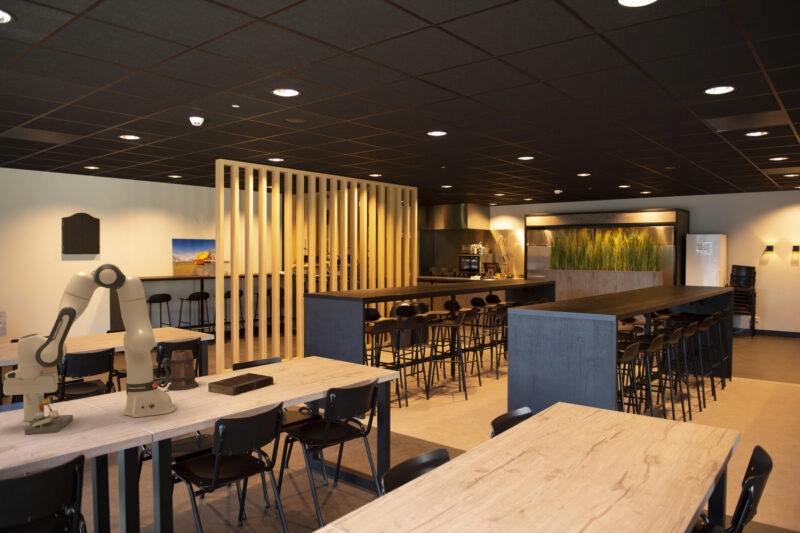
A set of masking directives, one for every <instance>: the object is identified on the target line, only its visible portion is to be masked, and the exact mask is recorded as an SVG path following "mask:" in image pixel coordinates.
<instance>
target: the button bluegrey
mask: <svg viewBox="0 0 800 533" xmlns="http://www.w3.org/2000/svg"><path fill="white" fill-rule="evenodd" d="M44 417H45V411H44V412H36V413H35V419H36V420H38V419H43V418H44Z"/></svg>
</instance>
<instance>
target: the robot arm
mask: <svg viewBox="0 0 800 533" xmlns="http://www.w3.org/2000/svg"><path fill="white" fill-rule="evenodd" d="M101 287H102V288H105V289H113V290H116V292H117V296H118V301H119V302H118V303H119V308H120V314H121V319H122V323H123V326H124V329H125V333H124V335H123V338H122V339H123V348H124V349H123V350H124V358H125V363H126V383H125V393H126V404H125V409H124V413H123V415H125V416H129V417H132V418H140V417H141V418H143V417H149V416H157V415H158V416H159V415H167V414H171V413H174V412H175V411H176V410H177V409H178V408H177V404H175V403H173V402H172V399H171V395H170V394H169V393H167V392H165V391H164V390H162V389H160V387H159V386H158V381H159V380H155V379H154V367H153V366H154V365H153V364H154V363H153V359H152V355H151V354H152V353H151V351H152V350H153V349H154V347H155V345H156V338H155V335H154V330H153V327H152V323H151V320H150V315H149V312H148V311H149V310H148V304H147V299H146V294H145V289H144V286H143V283H142V280H141V279H140V277H138V276H136V275H134V274H133V275H132V274H130V275H129V274H128V275H125V273H123V272H122V269H120V267H119V266H117V265H116V264H113V263H109V262H106V263H102V264H100V265H98V267H97V268H95V269H94V270H93V271H91V272H89V271H85V270H82V271H81V270H80V271H76V272H75V273H74V274H73V275H72V276H71V277H70V279H69V281H68V283H67V285H66V286H65V289H64V291H63V293H62V296H61V299H60V301H59V306H58V311H57V316H56V319H55V322H54V324H53V326H52V329H51V331H50V334H48V336H47V337H45V336H43V335H40V334H39V333H30V334H26V335H24V336H22V337H20V338H19V339H18V340H17V347H16V349H17V350H16V354H17V358H18V363H17V369H14V370H12V371H9V372H7V373H5V374H4V378H5V380H4V381H3V388H2V392H3V395H5V396H15V395H16V396H17V395H24V398H25V399H26V400H27V404H35V403H36V399H37V397H38V395H39V393H43V394H50V393H55V392H57V390H58V389H59V386H58V380H57V379H58V374H57V372H56V371H54V370H48V371H47V370H43V368H49V369H50V368H53V367H56V366H58V365H59V364H61V362H62V361H63V359H64V357H65V356H66V354H67V353H68V351H67V350H68V347H67V345H66V344H65V342H66V340H67V338H68V335H69V333H70V330H71V328H72V327H73V325H74V323H75V322H76V321H77V320H78V319H79V318H80V317H81V316H82V315H83V313H84V312H85V311H86V309H87V308H88V306H89V304H90V302H91V299H92V297H93V295H94V293H95V292H96V290H97V289H98V288H101ZM29 394H33V396H34V398H33V399H30V398H29V397H28V396H29Z"/></svg>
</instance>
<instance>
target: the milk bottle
mask: <svg viewBox="0 0 800 533" xmlns="http://www.w3.org/2000/svg"><path fill="white" fill-rule="evenodd" d="M22 395H23V400H22V401H23V420H24V422H30V421H31V420H33V419H34V418H35V413H36V412H44V413H45V404H43V400H44V399H45V396H44V393H39V395H38V397H37V399H36V403H35V404H27V400H26V399H25V398H24V394H22ZM28 397H29V398H30V399H33V398H34V396H33V394H29V396H28Z"/></svg>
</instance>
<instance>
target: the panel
mask: <svg viewBox="0 0 800 533" xmlns="http://www.w3.org/2000/svg"><path fill="white" fill-rule="evenodd" d="M59 413H60V412H58V417H57V418H52V420H51V421H50V422H47V423H44V424H41V425H38V426H35V427H33V426H32V424H34V423H36V422H39V421H42V420H45V419H48V418H49V414H48V415H47V416H45V415H44V418H43V419H38V420H36V419H35V418H34V419H33V420H31V421H29V423H30V424H29V425H28V426H27V427H25V428H24V435H25V436H28V435H40V434H55V433H58V432H60V431H61V430H62V429H63V428H65V427H66V426H68V425H69V424H70V423H71V422H72V420H73V421H74V414H61V415H60V414H59Z"/></svg>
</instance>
